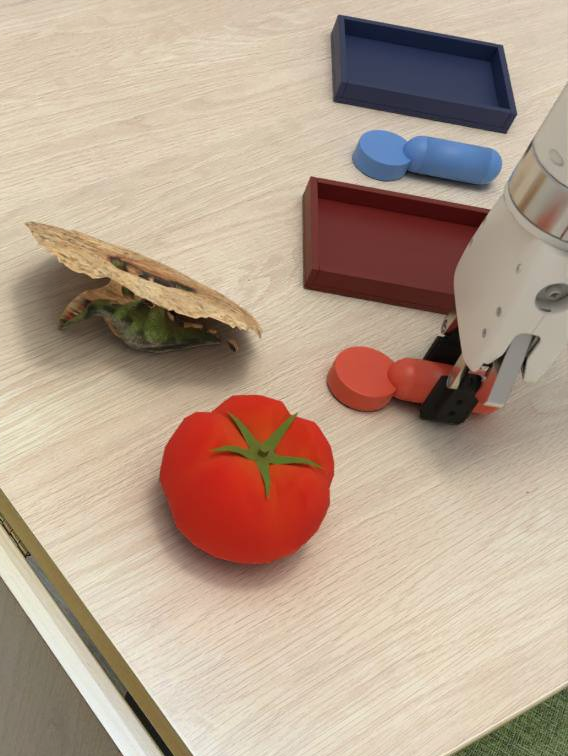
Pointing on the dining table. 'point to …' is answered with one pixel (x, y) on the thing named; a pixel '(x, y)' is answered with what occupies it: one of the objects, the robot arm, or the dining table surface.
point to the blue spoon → (424, 158)
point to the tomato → (248, 479)
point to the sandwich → (140, 295)
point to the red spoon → (385, 379)
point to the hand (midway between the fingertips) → (437, 397)
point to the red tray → (384, 244)
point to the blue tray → (421, 74)
